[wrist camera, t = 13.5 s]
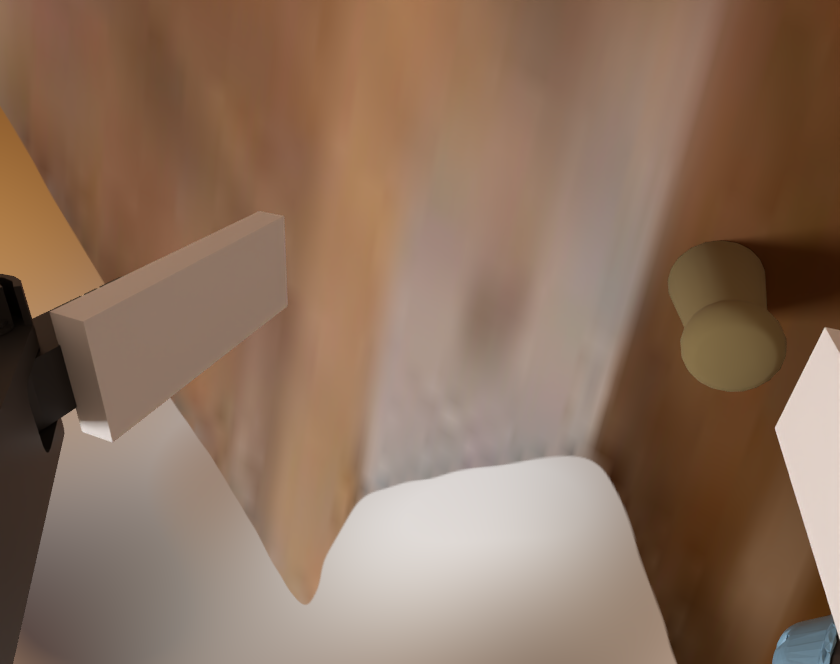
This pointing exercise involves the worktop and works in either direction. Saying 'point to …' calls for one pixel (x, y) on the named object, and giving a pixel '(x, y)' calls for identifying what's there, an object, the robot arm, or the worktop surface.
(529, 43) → the worktop surface
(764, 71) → the worktop surface
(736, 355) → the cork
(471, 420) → the worktop surface
